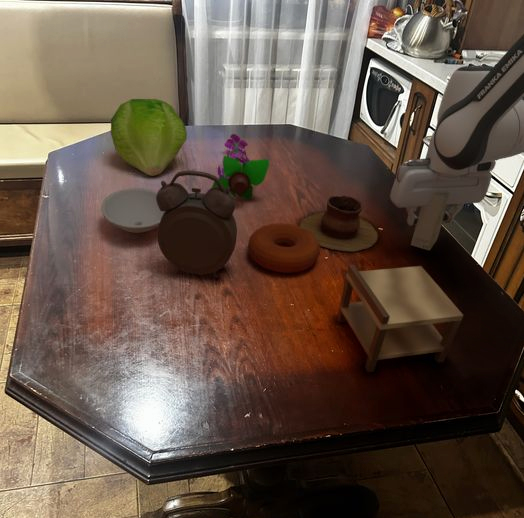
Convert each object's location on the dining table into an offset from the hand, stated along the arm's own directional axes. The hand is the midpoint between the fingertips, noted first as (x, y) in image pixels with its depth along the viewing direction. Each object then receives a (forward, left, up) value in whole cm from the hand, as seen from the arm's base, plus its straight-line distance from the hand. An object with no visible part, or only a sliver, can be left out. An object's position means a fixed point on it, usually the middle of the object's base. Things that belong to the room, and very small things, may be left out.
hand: (429, 222), depth 108 cm
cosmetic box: (0, 0, -5) cm, 5 cm away
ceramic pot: (+16, -10, -7) cm, 20 cm away
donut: (+32, -1, -7) cm, 32 cm away
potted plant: (+34, -40, -7) cm, 53 cm away
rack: (+21, +27, -7) cm, 34 cm away
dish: (+60, -17, -7) cm, 62 cm away
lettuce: (+54, -50, -7) cm, 74 cm away
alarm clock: (+50, +1, -7) cm, 50 cm away
